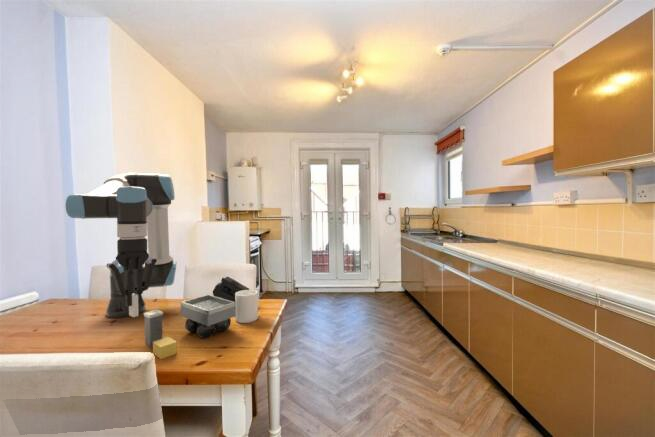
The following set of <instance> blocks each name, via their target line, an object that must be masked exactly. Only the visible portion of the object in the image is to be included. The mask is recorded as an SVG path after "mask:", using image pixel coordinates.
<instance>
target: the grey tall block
mask: <svg viewBox="0 0 655 437" xmlns="http://www.w3.org/2000/svg"><path fill="white" fill-rule="evenodd" d="M163 315H164V311H161V310H159V309H154V310H150V311H145V312H143V317H144V344H145V345H147V346H149V347H153V342H154V341H157V340H160V339H163Z"/></svg>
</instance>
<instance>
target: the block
mask: <svg viewBox="0 0 655 437" xmlns="http://www.w3.org/2000/svg"><path fill="white" fill-rule="evenodd" d="M177 343H178V342H177V341H176V340H175V339H173V338H172V337H170V336H166V337H164V338H163V337H162V339H160V340H157V341H154V342H153V346H152V354H153V353H154V354H153V355H155V356H156V357H157V356H158V357H159V358H158V357H157V358H158V359H160V360H162V358H163V359H165V358H168V357H170V356H173V355H176V354H177V353H178V348H177V346H178V344H177Z"/></svg>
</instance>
